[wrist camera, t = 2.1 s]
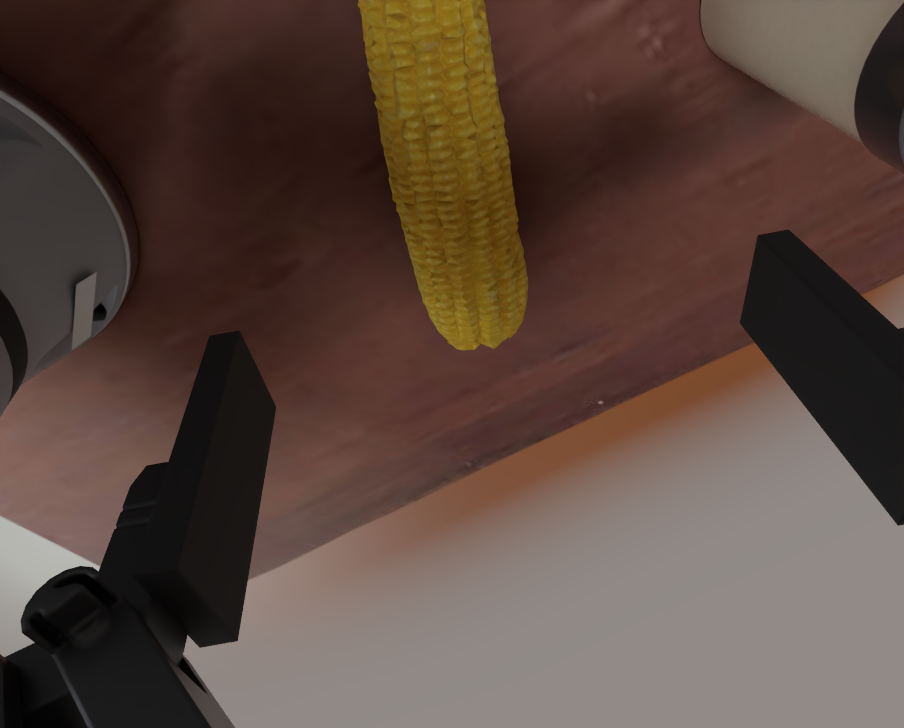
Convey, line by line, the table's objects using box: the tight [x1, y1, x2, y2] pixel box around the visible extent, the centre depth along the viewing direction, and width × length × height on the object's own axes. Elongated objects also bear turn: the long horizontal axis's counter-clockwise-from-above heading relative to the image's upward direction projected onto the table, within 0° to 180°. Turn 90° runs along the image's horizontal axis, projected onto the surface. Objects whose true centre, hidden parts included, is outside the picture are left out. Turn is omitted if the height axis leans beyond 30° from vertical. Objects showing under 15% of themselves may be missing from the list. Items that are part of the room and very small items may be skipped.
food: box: [357, 0, 528, 350], centre depth 27 cm, size 21×6×6 cm, turn 12°
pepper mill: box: [700, 0, 904, 173], centre depth 21 cm, size 6×6×15 cm
